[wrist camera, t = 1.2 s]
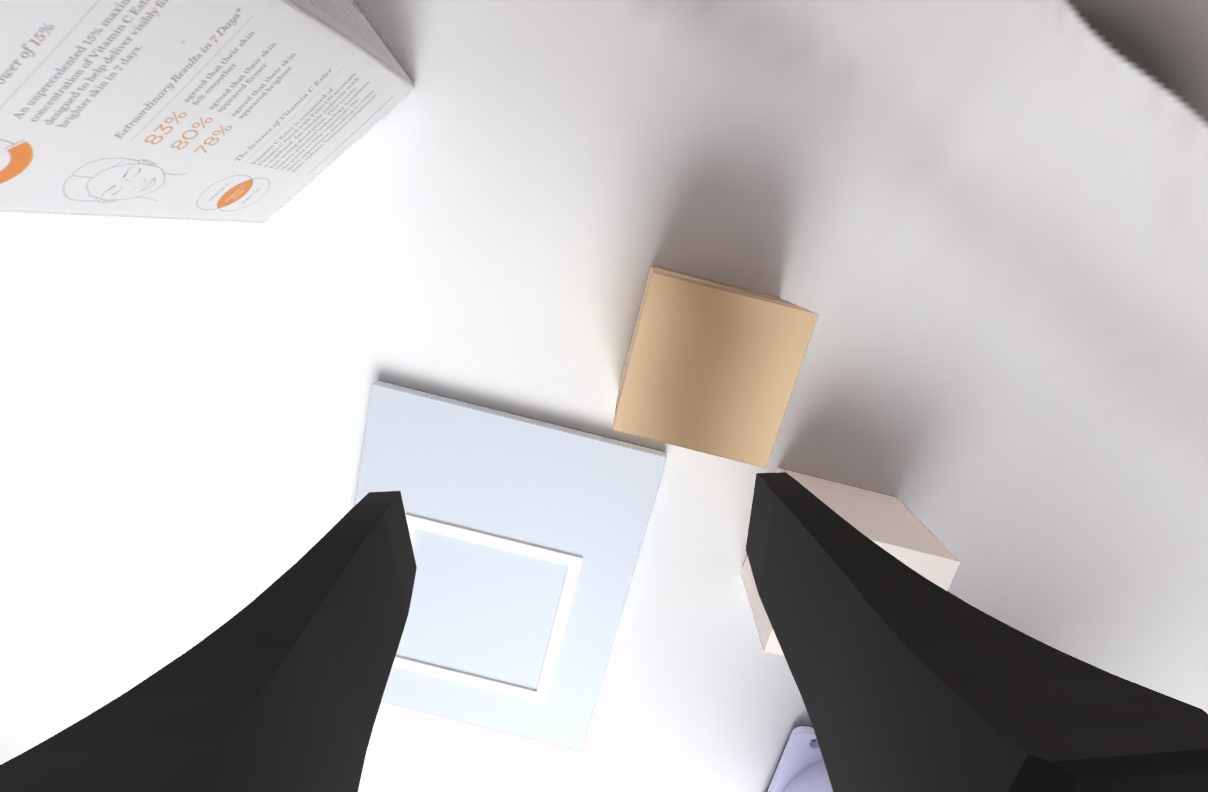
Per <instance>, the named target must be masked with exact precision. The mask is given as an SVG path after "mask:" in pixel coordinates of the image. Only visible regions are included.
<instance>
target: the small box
mask: <svg viewBox="0 0 1208 792" xmlns="http://www.w3.org/2000/svg"><path fill="white" fill-rule="evenodd" d="M413 89H414V83H413V82H412V81H411V79H410V78H409V77H408V75H407V74H406V73H405V71H404V70H403V69H402V67H401V66H400V64H399V63H398V62H397V60H396V59H395V58H394V56H393V55H392V54H391V52H390V51H389V49H388V48H387V47H386V45H385V44H384V42H383V41H382V40H381V38H380V37H379V36H378V34H377V33H376V32H375V30H374V29H373V27H372V26H371V25H370V23H369V22H368V20H367V19H366V18H365V16H364V15H363V13H362V12H361V11H360V9H359V8H358V6H357V5H356V4H355V2H354V1H353V0H0V211H8V212H31V213H53V214H75V215H99V216H122V217H145V218H169V219H192V220H216V221H239V222H258V223H261V222H265V221H266V220H267V219H269V218H270V217H271V216H272V215H273V214H274V213H275V212H276V211H278V210H279V209H280V208H281V207H282V206H283V205H284V204H286V203H287V202H288V201H289V200H290V199H291V198H292V197H294V196H295V195H296V194H297V193H298V192H299V191H300V190H302V189H303V188H304V187H305V186H306V185H307V184H308V183H309V182H310V181H312V180H313V179H314V178H315V177H316V176H317V175H318V174H319V173H321V172H322V171H323V170H324V169H325V168H326V167H327V166H328V165H330V164H331V163H332V162H333V161H334V160H335V159H336V158H338V157H339V156H340V155H341V154H342V153H343V152H344V151H345V150H347V149H348V148H349V147H350V146H351V145H352V144H353V143H354V142H356V141H357V140H358V139H359V138H360V137H361V136H362V135H363V134H364V133H366V132H367V131H368V130H369V129H370V128H371V127H372V126H373V125H374V124H376V123H377V122H378V121H379V120H380V119H381V118H382V117H383V116H384V115H386V114H387V113H388V112H389V111H390V110H391V109H392V108H393V107H394V106H395V105H397V104H398V103H399V102H400V101H401V100H402V99H403V98H404V97H405V96H407V95H408V94H409V93H410V92H411V91H412V90H413Z"/></svg>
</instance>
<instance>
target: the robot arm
mask: <svg viewBox="0 0 1208 792" xmlns="http://www.w3.org/2000/svg"><path fill="white" fill-rule="evenodd" d="M746 551H747V555H748V559H749V563H750V566H751V570H752V574H753V577H754V581H755V584H756V588H757V591H758V594H759V597H760V599H761V602H762V604H763V606H764V609H765V611H766V614H767V616H768V618H769V621H770V623H771V626H772V628H773V630H774V633H775V635H776V637H777V640H778V642H779V644H780V647H781V649H782V651H783V654H784V656H785V658H786V661H787V663H788V665H789V668H790V670H791V672H792V675H793V677H794V679H795V682H796V684H797V686H798V689H799V691H800V693H801V696H802V698H803V701H804V704H805V706H806V709H807V711H808V714H809V717H810V719H811V723H812V726H813V728H811V727H807V726H799V727H796V728H795V729H794V730H793V731H792V733H791V735H790V738H789V740H788V743H787V745H786V747H785V750H784V752H783V755H782V757H781V760H780V762H779V764H778V767H777V769H776V772H775V774H774V777H773V779H772V782H771V784H770V786H769V789H768V791H767V792H1208V714H1207V713H1206V712H1204V711H1203V710H1202V709H1199V708H1197V707H1194V706H1192V705H1189V704H1187V703H1184V702H1182V701H1179V700H1176V699H1174V698H1171V697H1169V696H1166V695H1164V694H1161V693H1158V692H1156V691H1153V690H1151V689H1148V688H1146V687H1143V686H1141V685H1138V684H1135V683H1133V682H1130V681H1128V680H1125V679H1123V678H1120V677H1118V676H1115V675H1113V674H1110V673H1108V672H1106V671H1103V670H1101V669H1099V668H1097V667H1094V666H1092V665H1090V664H1088V663H1085V662H1083V661H1081V660H1079V659H1077V658H1074V657H1072V656H1070V655H1068V654H1065V653H1063V652H1061V651H1059V650H1057V649H1054V648H1052V647H1050V646H1048V645H1046V644H1044V643H1042V642H1040V641H1038V640H1036V639H1034V638H1032V637H1030V636H1028V635H1026V634H1024V633H1022V632H1020V631H1018V630H1016V629H1014V628H1012V627H1010V626H1008V625H1006V624H1005V623H1003V622H1001V621H999V620H997V619H995V618H993V617H991V616H989V615H987V614H985V613H984V612H982V611H980V610H978V609H977V608H975V607H973V606H971V605H969V604H968V603H966V602H964V601H962V600H961V599H959V598H958V597H956V596H954V595H953V594H951V593H949V592H948V591H946V590H944V589H943V588H941V587H939V586H938V585H936V584H934V583H933V582H931V581H930V580H928V579H926V578H925V577H923V576H922V575H920V574H919V573H917V572H916V571H914V570H913V569H911V568H910V567H908V566H907V565H905V564H904V563H903V562H901V561H900V560H898V559H897V558H895V557H894V556H893V555H891V554H890V553H888V552H887V551H885V550H884V549H883V548H881V547H880V546H878V545H877V544H876V543H874V542H873V541H872V540H870V539H869V538H868V537H866V536H865V535H864V534H862V533H861V532H860V531H859V530H857V529H856V528H855V527H853V526H852V525H851V524H850V523H848V522H847V521H846V520H844V519H843V518H842V517H841V516H839V515H838V514H837V513H836V512H834V511H833V510H832V509H831V508H830V507H828V506H827V505H826V504H825V503H823V502H822V501H821V500H820V499H819V498H817V497H816V496H815V495H814V494H812V493H811V492H810V491H809V490H808V489H806V488H805V487H804V486H803V485H802V484H800V483H799V482H798V481H797V480H795V479H794V478H793V477H791V476H790V475H789V474H788V473H786V472H780V473H759V474H757V475H756V482H755V489H754V496H753V503H752V510H751V517H750V524H749V531H748V538H747V545H746ZM416 569H417V567H416V562H415V557H414V553H413V548H412V543H411V539H410V534H409V529H408V525H407V520H406V515H405V510H404V506H403V501H402V496H401V492H400V491H385V492H369V493H368V494H367V495H366V496H365V497H364V498H362V499H361V500H360V501H359V502H358V503H357V504H356V505H355V506H354V507H353V508H352V509H351V510H350V511H349V512H348V513H347V514H346V515H345V516H344V517H343V518H342V519H341V520H340V521H339V522H338V523H337V524H336V525H335V526H334V527H333V528H332V529H331V530H330V531H329V532H328V533H327V534H326V535H325V536H324V537H323V538H322V539H321V540H320V541H319V542H318V543H317V544H316V545H315V546H314V547H313V548H312V549H311V550H310V551H308V552H307V553H306V554H305V555H304V556H303V557H302V558H301V559H300V560H299V561H298V562H297V563H296V564H295V565H294V566H292V567H291V568H290V569H289V570H288V571H287V572H286V573H285V574H283V575H282V576H281V577H280V578H279V579H278V580H277V581H275V582H274V583H273V584H272V585H271V586H270V587H269V588H267V589H266V590H265V591H264V592H263V593H262V594H261V595H259V596H258V597H257V598H256V599H255V600H254V601H253V602H251V603H250V604H249V605H248V606H247V607H245V608H244V609H243V610H242V611H240V612H239V613H238V614H237V615H235V616H234V617H233V618H232V619H230V620H229V621H228V622H227V623H225V624H224V625H223V626H221V627H220V628H219V629H217V630H216V631H215V632H213V633H212V634H211V635H209V636H208V637H207V638H205V639H204V640H203V641H201V642H200V643H199V644H197V645H196V646H194V647H193V648H192V649H190V650H189V651H187V652H186V653H185V654H183V655H182V656H180V657H179V658H177V659H176V660H174V661H173V662H171V663H170V664H168V665H167V666H165V667H164V668H162V669H161V670H159V671H158V672H156V673H155V674H153V675H152V676H150V677H149V678H147V679H146V680H144V681H143V682H141V683H140V684H138V685H137V686H135V687H134V688H132V689H131V690H129V691H128V692H126V693H125V694H123V695H122V696H120V697H118V698H117V699H115V700H113V701H112V702H110V703H109V704H107V705H105V706H104V707H102V708H100V709H99V710H97V711H95V712H94V713H92V714H91V715H89V716H87V717H86V718H84V719H82V720H80V721H79V722H77V723H75V724H74V725H72V726H70V727H68V728H67V729H65V730H63V731H61V732H60V733H58V734H56V735H55V736H53V737H51V738H49V739H48V740H46V741H44V742H42V743H40V744H39V745H37V746H35V747H33V748H31V749H30V750H28V751H26V752H24V753H22V754H21V755H19V756H17V757H15V758H13V759H11V760H9V761H7V762H5V763H3V764H2V765H0V792H357V791H358V787H359V782H360V777H361V773H362V768H363V764H364V759H365V754H366V750H367V746H368V743H369V739H370V736H371V732H372V728H373V725H374V722H375V719H376V715H377V712H378V709H379V706H380V703H381V700H382V697H383V694H384V690H385V687H386V684H387V681H388V678H389V675H390V672H391V669H392V665H393V662H394V659H395V656H396V653H397V650H398V647H399V643H400V640H401V637H402V634H403V631H404V627H405V624H406V621H407V617H408V613H409V608H410V603H411V598H412V593H413V587H414V581H415V575H416ZM813 739H817V740H816V741H811V740H813Z"/></svg>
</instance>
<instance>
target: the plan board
mask: <svg viewBox="0 0 1208 792" xmlns="http://www.w3.org/2000/svg"><path fill="white" fill-rule="evenodd" d="M666 459H667V455H666V452H663V451H659V450H655V449H651V448H647V447H643V446H639V445H635V444H631V443H627V442H623V441H619V440H615V439H611V438H607V437H603V436H599V435H595V434H591V433H587V432H583V431H579V430H575V429H571V428H567V427H563V426H559V425H555V424H551V423H547V422H542V421H538V420H534V419H530V418H526V417H522V416H518V415H514V414H510V413H506V412H502V411H498V410H494V409H490V408H486V407H482V406H478V405H474V404H470V403H466V402H462V401H458V400H454V399H450V398H446V397H442V396H438V395H434V394H430V393H426V392H422V391H418V390H414V389H410V388H406V387H402V386H398V385H394V384H390V383H386V382H382V381H377V382H375V383H373V384H372V386H371V394H370V401H369V408H368V415H367V423H366V430H365V437H364V444H363V451H362V459H361V466H360V473H359V480H358V488H357V495H356V502H355V505H356V504H357V503H358V502H359V501H360V500H361V499H362V498H364V497H365V496H366V495H367V494H368V493H369V492H385V491H400V492H401V496H402V501H403V506H404V510H405V515H406V520H407V525H408V529H409V534H410V539H411V543H412V548H413V553H414V557H415V562H416V567H417V569H416V575H415V581H414V587H413V593H412V598H411V603H410V608H409V613H408V617H407V621H406V624H405V627H404V631H403V634H402V637H401V640H400V643H399V647H398V650H397V653H396V656H395V659H394V662H393V665H392V669H391V672H390V675H389V678H388V681H387V684H386V687H385V690H384V694H383V697H382V700H381V702H384V703H388V704H392V705H396V706H400V707H404V708H408V709H412V710H416V711H420V712H424V713H429V714H433V715H437V716H441V717H445V718H449V719H453V720H457V721H461V722H465V723H469V724H473V725H477V726H481V727H485V728H490V729H494V730H498V731H502V732H506V733H510V734H514V735H518V736H522V737H526V738H530V739H534V740H538V741H542V742H546V743H550V744H555V745H559V746H563V747H567V748H571V749H575V750H579V751H582V747H583V744H584V741H585V737H586V734H587V730H588V727H589V723H590V720H591V717H592V713H593V710H594V706H595V703H596V699H597V696H598V692H599V689H600V686H601V682H602V679H603V675H604V672H605V668H606V665H607V662H608V658H609V655H610V651H611V648H612V644H613V641H614V637H615V634H616V631H617V627H618V624H619V620H620V617H621V613H622V610H623V607H624V603H625V600H626V596H627V593H628V589H629V586H630V582H631V579H632V576H633V572H634V569H635V565H636V562H637V558H638V555H639V552H640V548H641V545H642V541H643V538H644V534H645V531H646V527H647V524H648V521H649V517H650V514H651V510H652V507H653V503H654V500H655V497H656V493H657V490H658V486H659V483H660V479H661V476H662V473H663V469H664V466H665V462H666Z"/></svg>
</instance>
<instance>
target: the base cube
mask: <svg viewBox="0 0 1208 792" xmlns="http://www.w3.org/2000/svg"><path fill="white" fill-rule="evenodd" d="M817 317H818V314H816V313H813V312H811V311H809V310H806V309H804V308H802V307H799V306H797V305H795V304H792V303H790V302H788V301H785V300H783V299H781V298H777V297H773V296H769V295H765V294H761V293H757V292H753V291H749V290H745V289H741V288H737V287H733V286H729V285H725V284H721V283H717V282H713V281H709V280H706V279H702V278H698V277H694V276H690V275H686V274H682V273H678V272H674V271H670V270H666V269H662V268H658V267H654V266H650V270H649V274H648V278H647V282H646V286H645V289H644V293H643V297H642V301H641V305H640V309H639V313H638V317H637V320H636V324H635V328H634V332H633V336H632V340H631V344H630V348H629V351H628V355H627V359H626V363H625V367H624V371H623V375H622V379H621V382H620V386H619V390H618V397H617V404H616V411H615V418H614V425H613V430H616V431H620V432H624V433H628V434H632V435H636V436H640V437H644V438H648V439H652V440H656V441H660V442H664V443H668V444H672V445H676V446H680V447H684V448H688V449H692V450H696V451H700V452H704V453H708V454H712V455H716V456H720V457H724V458H728V459H732V460H736V461H740V462H744V463H748V464H752V465H756V466H760V467H764V468H766V466H767V463H768V461H769V458H770V455H771V452H772V449H773V446H774V443H775V440H776V437H777V434H778V431H779V428H780V425H781V423H782V420H783V417H784V414H785V411H786V408H787V405H788V402H789V399H790V396H791V393H792V390H793V387H794V385H795V382H796V379H797V376H798V373H799V370H800V367H801V364H802V361H803V358H804V355H805V352H806V349H807V347H808V344H809V341H810V338H811V335H812V332H813V329H814V326H815V323H816V320H817Z"/></svg>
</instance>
